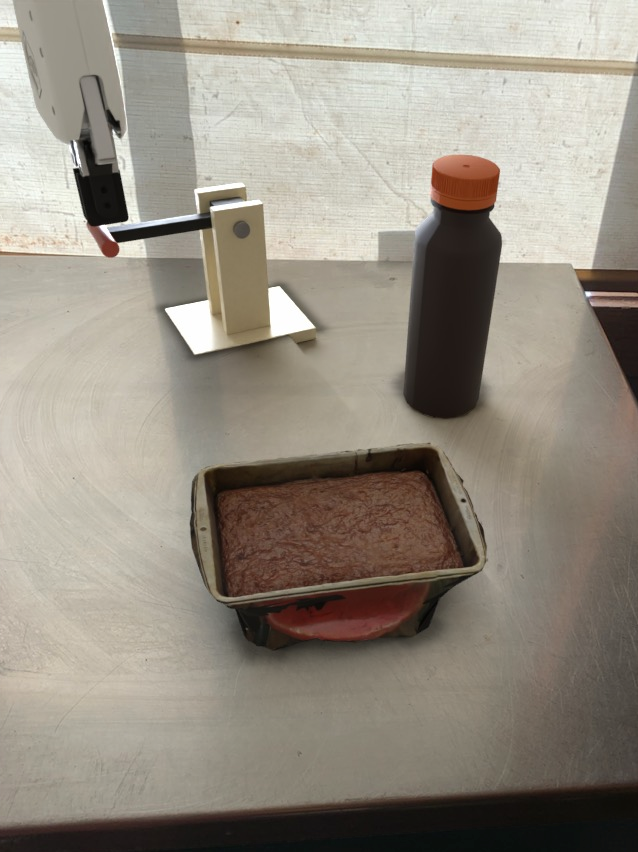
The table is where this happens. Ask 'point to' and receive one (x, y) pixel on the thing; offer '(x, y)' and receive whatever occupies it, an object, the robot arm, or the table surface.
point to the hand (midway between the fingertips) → (106, 219)
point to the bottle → (452, 288)
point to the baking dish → (335, 542)
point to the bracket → (236, 281)
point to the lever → (152, 228)
